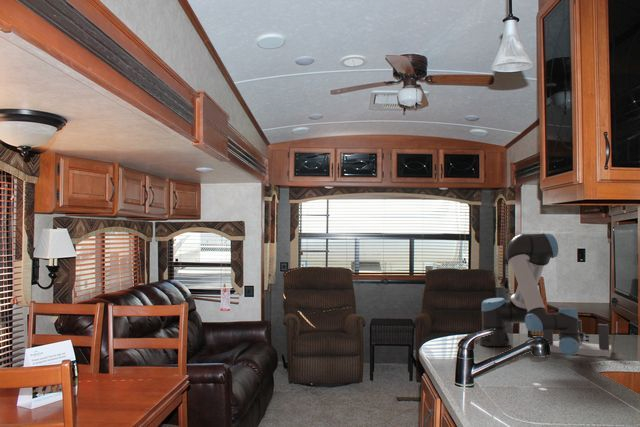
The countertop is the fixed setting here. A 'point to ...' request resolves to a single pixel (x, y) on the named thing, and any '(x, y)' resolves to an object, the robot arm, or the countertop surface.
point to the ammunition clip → (534, 333)
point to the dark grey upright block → (579, 326)
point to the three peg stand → (586, 348)
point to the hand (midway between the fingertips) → (577, 331)
